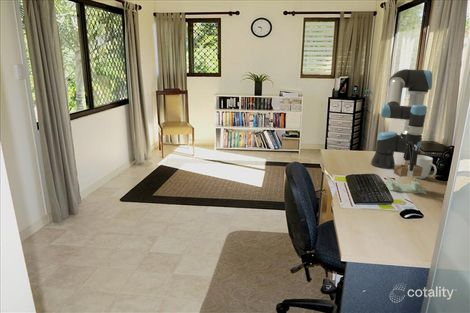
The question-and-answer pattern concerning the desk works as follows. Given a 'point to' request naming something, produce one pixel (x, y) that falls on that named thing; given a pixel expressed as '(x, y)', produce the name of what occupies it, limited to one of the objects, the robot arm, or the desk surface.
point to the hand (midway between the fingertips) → (407, 173)
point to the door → (402, 170)
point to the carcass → (405, 186)
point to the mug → (425, 166)
